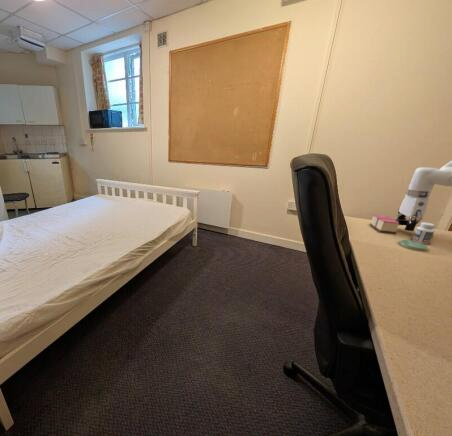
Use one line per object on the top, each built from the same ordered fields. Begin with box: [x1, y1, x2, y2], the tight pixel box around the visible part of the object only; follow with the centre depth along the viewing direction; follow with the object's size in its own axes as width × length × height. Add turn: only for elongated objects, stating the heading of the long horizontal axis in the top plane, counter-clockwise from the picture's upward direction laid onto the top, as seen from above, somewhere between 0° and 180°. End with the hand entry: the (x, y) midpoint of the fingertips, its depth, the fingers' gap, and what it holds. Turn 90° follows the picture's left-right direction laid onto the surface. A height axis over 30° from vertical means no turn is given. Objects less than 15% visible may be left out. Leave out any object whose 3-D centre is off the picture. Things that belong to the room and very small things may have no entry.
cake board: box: [369, 222, 397, 235], centre depth 115 cm, size 6×11×1 cm, turn 160°
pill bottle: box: [412, 221, 435, 245], centre depth 100 cm, size 5×5×9 cm
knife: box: [375, 218, 409, 227], centre depth 113 cm, size 14×2×5 cm, turn 70°
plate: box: [399, 239, 428, 252], centre depth 97 cm, size 8×8×1 cm
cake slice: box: [370, 214, 393, 226], centre depth 117 cm, size 6×4×5 cm
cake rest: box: [376, 218, 400, 233], centre depth 112 cm, size 6×4×5 cm
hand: (403, 227), depth 112 cm, fingers open, 7 cm apart
